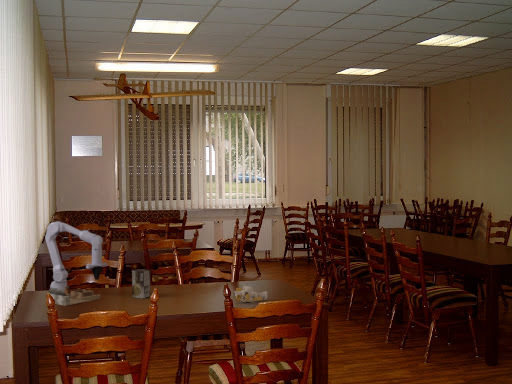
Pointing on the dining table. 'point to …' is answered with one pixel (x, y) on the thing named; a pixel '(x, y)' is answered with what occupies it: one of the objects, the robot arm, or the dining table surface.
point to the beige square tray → (81, 293)
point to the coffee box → (140, 283)
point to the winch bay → (68, 297)
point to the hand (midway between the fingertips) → (96, 279)
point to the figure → (249, 294)
